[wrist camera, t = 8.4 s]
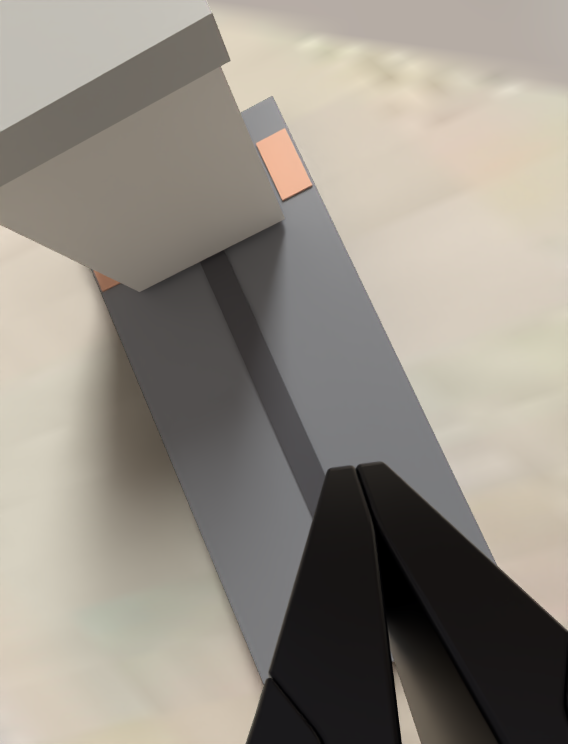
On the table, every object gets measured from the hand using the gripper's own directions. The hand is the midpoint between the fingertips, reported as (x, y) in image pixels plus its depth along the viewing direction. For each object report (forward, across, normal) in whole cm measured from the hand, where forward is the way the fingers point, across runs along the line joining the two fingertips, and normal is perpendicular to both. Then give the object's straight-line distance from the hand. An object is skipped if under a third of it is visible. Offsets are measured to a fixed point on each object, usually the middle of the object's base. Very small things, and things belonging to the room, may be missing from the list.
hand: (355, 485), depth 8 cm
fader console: (+11, +1, +5) cm, 12 cm away
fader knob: (+14, +4, -1) cm, 14 cm away
